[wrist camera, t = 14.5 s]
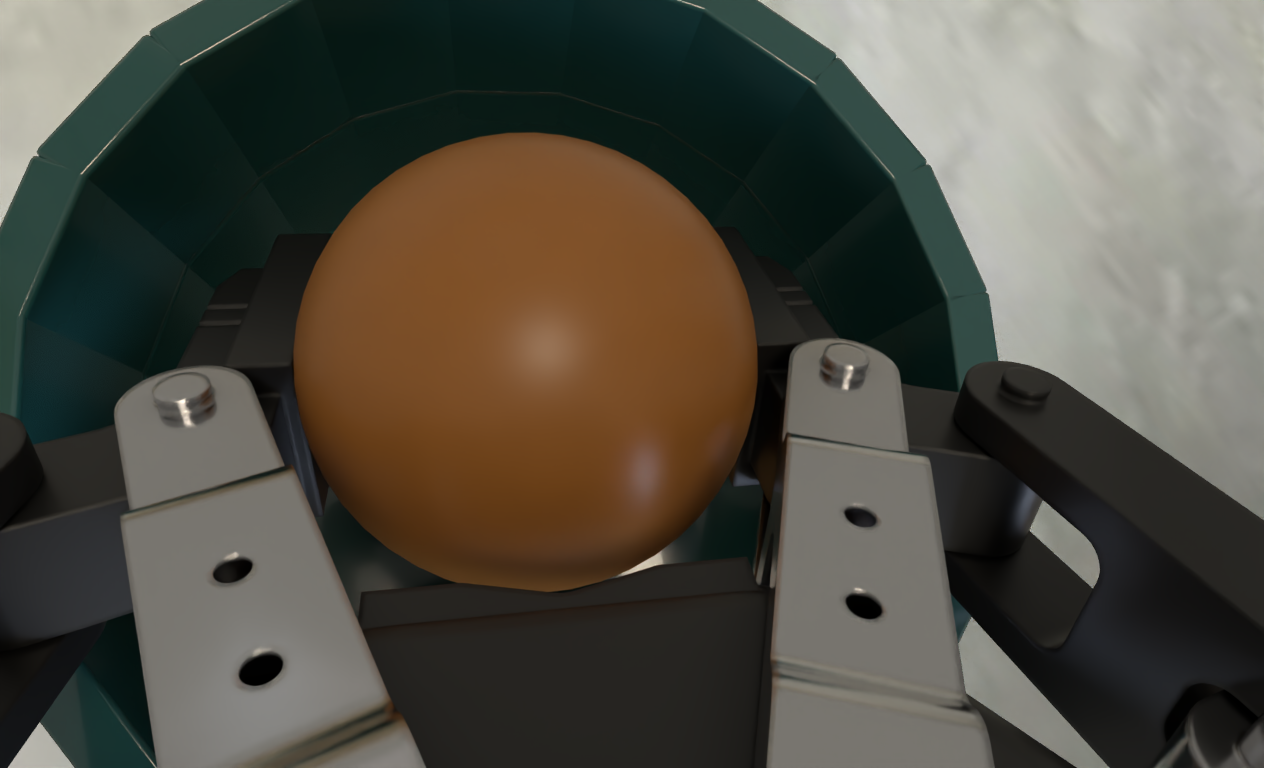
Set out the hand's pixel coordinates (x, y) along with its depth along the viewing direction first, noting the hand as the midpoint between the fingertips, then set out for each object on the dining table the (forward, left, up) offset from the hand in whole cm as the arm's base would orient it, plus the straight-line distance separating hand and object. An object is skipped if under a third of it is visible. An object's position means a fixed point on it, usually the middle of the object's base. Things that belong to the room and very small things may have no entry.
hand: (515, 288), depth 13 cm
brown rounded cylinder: (+1, +1, -4) cm, 5 cm away
